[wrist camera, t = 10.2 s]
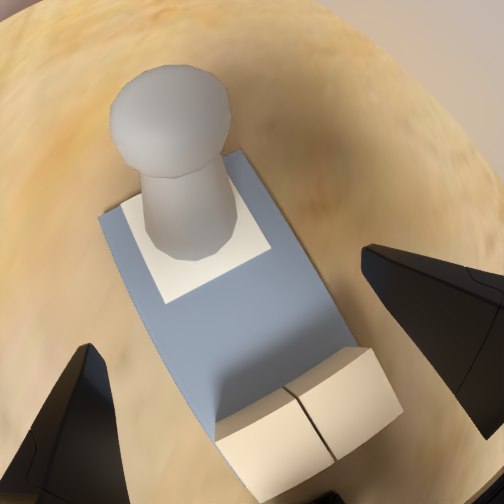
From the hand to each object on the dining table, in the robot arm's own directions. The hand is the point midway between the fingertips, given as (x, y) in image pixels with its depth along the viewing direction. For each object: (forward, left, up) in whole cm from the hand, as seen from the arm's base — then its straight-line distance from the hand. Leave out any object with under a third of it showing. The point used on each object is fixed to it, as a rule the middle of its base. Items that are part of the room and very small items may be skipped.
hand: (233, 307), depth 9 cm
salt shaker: (+7, -1, -11) cm, 13 cm away
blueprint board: (0, -1, -12) cm, 12 cm away
